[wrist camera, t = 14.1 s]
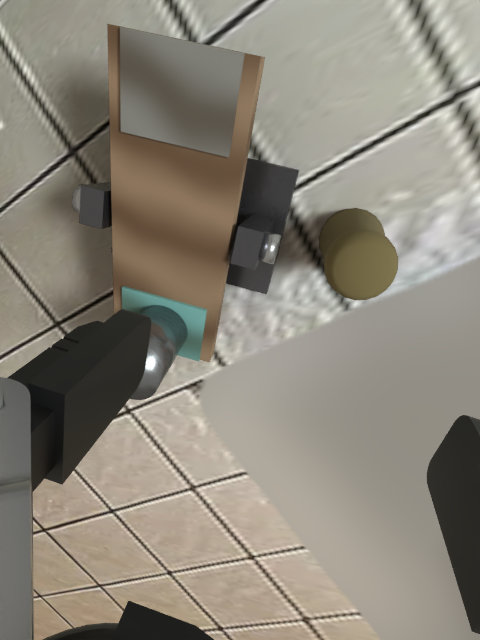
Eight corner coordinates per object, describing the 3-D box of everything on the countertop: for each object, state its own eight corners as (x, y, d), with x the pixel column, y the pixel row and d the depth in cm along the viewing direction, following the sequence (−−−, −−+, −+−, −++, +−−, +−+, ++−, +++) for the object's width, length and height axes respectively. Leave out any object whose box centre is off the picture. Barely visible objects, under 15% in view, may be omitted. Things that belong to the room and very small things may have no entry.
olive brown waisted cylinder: (308, 257, 38) (303, 291, 28) (336, 197, 35) (342, 212, 25) (365, 281, 38) (380, 324, 28) (397, 223, 35) (427, 248, 25)
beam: (118, 26, 25) (104, 23, 24) (264, 57, 24) (259, 56, 23) (121, 326, 40) (112, 336, 38) (213, 352, 39) (208, 364, 37)
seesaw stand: (124, 128, 37) (68, 119, 29) (301, 170, 35) (295, 173, 27) (115, 248, 42) (64, 270, 34) (269, 290, 40) (256, 324, 32)
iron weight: (138, 298, 35) (97, 343, 29) (190, 313, 34) (158, 361, 29) (137, 341, 38) (100, 389, 32) (185, 355, 37) (156, 406, 32)
